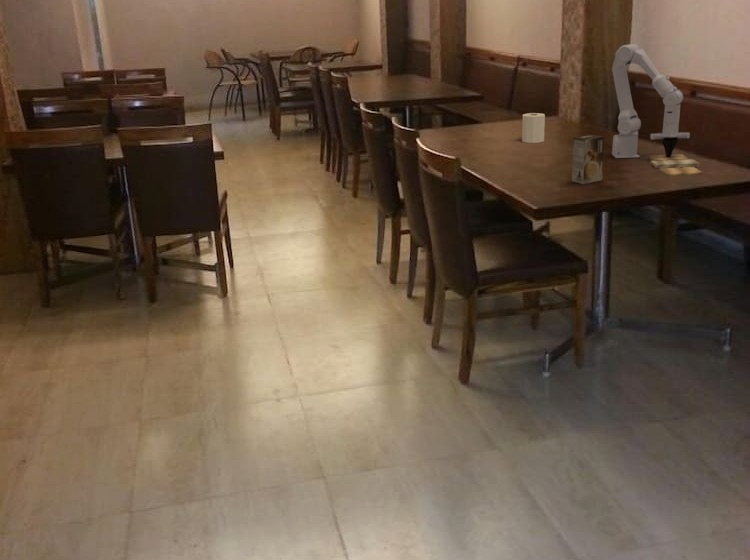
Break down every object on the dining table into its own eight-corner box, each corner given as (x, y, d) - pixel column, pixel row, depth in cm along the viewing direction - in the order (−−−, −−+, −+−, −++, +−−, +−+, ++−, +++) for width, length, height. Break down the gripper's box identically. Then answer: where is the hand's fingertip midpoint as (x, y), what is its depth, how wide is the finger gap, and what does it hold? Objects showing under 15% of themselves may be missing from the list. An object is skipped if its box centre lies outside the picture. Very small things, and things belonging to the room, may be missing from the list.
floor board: (656, 168, 291) (656, 164, 290) (650, 164, 298) (650, 159, 298) (699, 167, 290) (699, 162, 289) (692, 162, 297) (692, 158, 296)
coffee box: (590, 177, 283) (592, 134, 277) (602, 180, 277) (605, 136, 272) (571, 181, 279) (572, 137, 273) (583, 184, 273) (585, 139, 268)
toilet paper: (537, 138, 359) (537, 112, 355) (548, 141, 350) (549, 115, 346) (517, 140, 356) (518, 114, 352) (528, 144, 347) (529, 117, 343)
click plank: (655, 163, 299) (655, 160, 298) (648, 158, 307) (649, 155, 307) (689, 162, 298) (689, 159, 297) (682, 157, 306) (682, 154, 306)
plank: (667, 177, 280) (667, 174, 279) (658, 171, 288) (659, 168, 288) (703, 175, 280) (703, 172, 279) (693, 170, 288) (693, 166, 288)
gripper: (655, 124, 295) (652, 159, 300) (693, 123, 294) (690, 158, 299) (650, 121, 302) (647, 155, 307) (687, 120, 301) (684, 154, 305)
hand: (668, 156), depth 303 cm, fingers closed, pressing on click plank
